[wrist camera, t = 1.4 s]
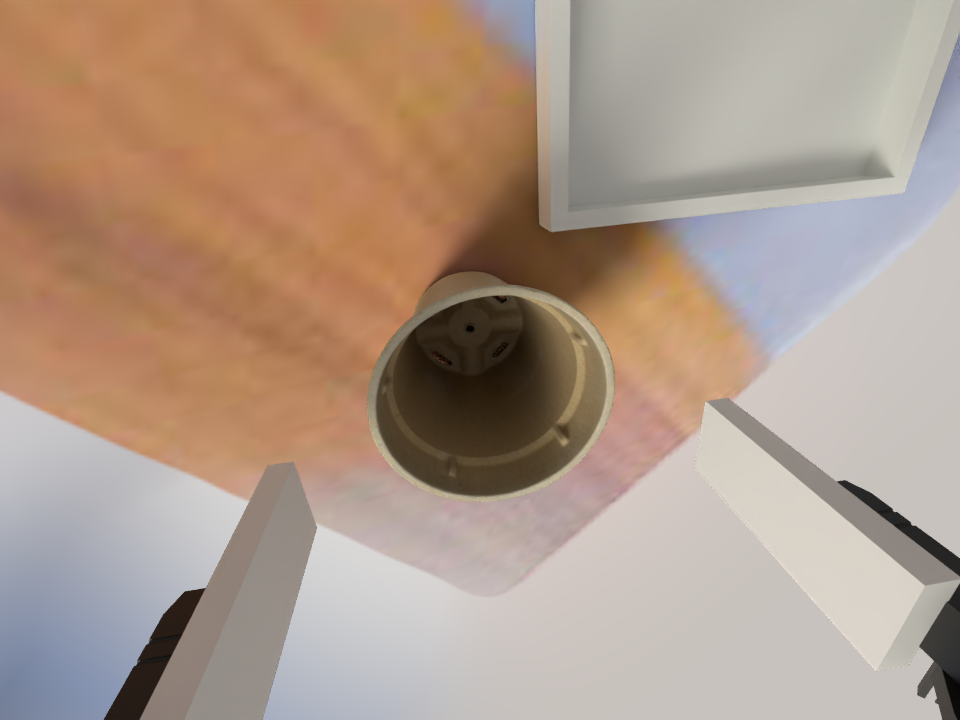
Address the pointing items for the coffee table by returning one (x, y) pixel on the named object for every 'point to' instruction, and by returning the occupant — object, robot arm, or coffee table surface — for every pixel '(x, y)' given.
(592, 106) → the tray
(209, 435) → the coffee table surface
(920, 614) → the robot arm
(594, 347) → the flower pot
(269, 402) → the coffee table surface
